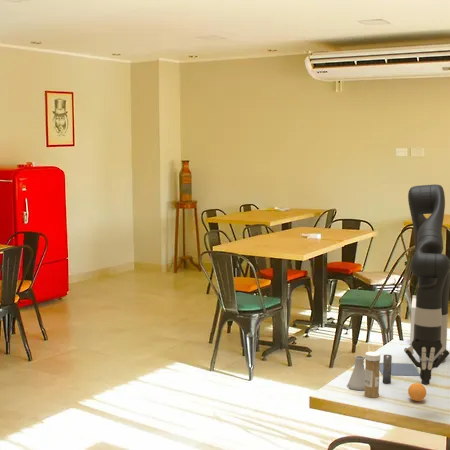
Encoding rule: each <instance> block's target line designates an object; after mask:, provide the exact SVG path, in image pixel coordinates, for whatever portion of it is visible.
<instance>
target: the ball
mask: <svg viewBox="0 0 450 450" xmlns="http://www.w3.org/2000/svg"><path fill="white" fill-rule="evenodd" d="M407 394H408V396H409V398H410V399H411V400H413V401H414V402H415V401H416V402H420V401H423V400H425V398H426V397H427V388H426V387H425V385H424V384H421V383H420V382H415V383H412V384H411V385H410V386H409V387H408V390H407Z"/></svg>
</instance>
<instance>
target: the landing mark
mask: <svg viewBox="0 0 450 450" xmlns="http://www.w3.org/2000/svg"><path fill="white" fill-rule="evenodd" d="M379 373H380V374H381V376H383V362H379ZM391 376H397V377H398V376H400V377H404V376H408V377H420V371H418V369H417V367H416V366H415V365H414V363H407V362H405V363H404V362H403V363H401V362H398V363H397V362H392V363H391Z"/></svg>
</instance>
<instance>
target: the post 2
mask: <svg viewBox="0 0 450 450" xmlns="http://www.w3.org/2000/svg"><path fill="white" fill-rule="evenodd" d="M420 380H421V379H420ZM430 382H431V380H429V382H423V381H422V380H421V383H420V384H422V385H423V386H428V385H430Z"/></svg>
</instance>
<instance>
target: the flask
mask: <svg viewBox="0 0 450 450" xmlns="http://www.w3.org/2000/svg"><path fill="white" fill-rule="evenodd" d="M354 359H355V361H354V362H355V363H354V367H353V370H352V373H351V375H350V377H349V380H348V383H347V384H346V385H347V387H348V389H350V390H354V391H365V363H364V361H365V355H355V356H354Z"/></svg>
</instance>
